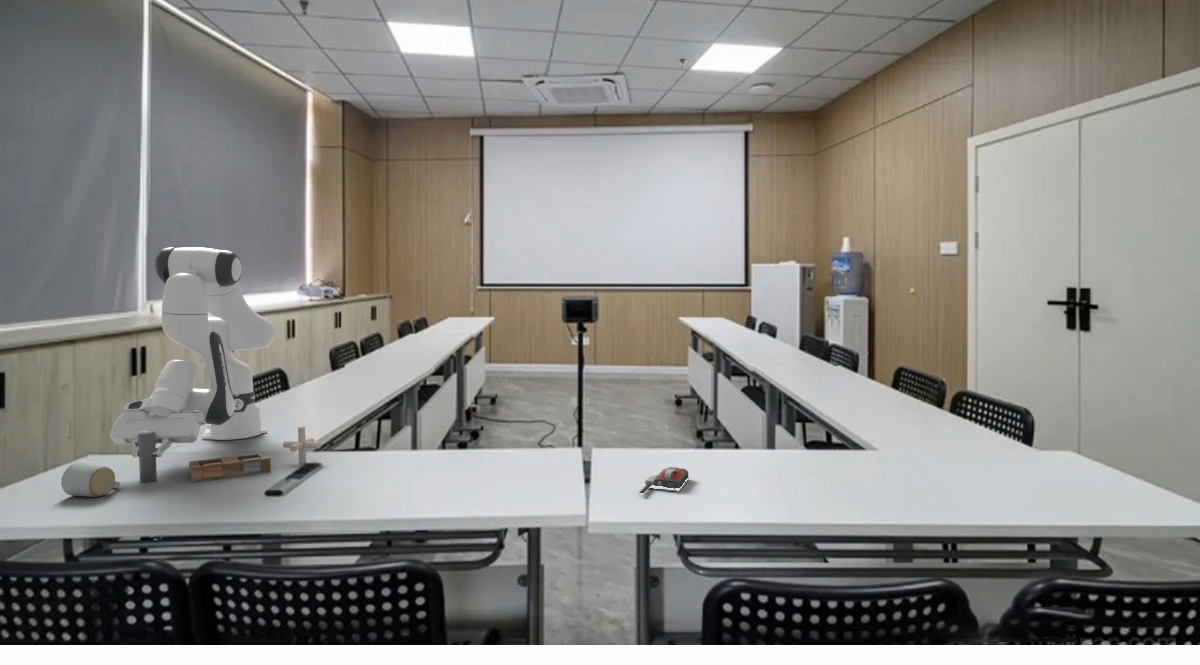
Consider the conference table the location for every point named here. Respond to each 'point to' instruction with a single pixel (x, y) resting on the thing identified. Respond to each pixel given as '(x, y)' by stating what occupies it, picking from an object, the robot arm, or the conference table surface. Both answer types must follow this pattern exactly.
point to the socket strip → (229, 466)
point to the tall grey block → (147, 456)
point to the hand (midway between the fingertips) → (146, 456)
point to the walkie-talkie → (667, 478)
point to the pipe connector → (301, 444)
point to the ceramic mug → (88, 480)
